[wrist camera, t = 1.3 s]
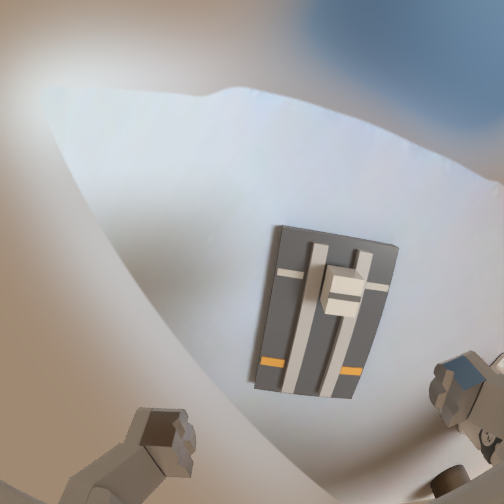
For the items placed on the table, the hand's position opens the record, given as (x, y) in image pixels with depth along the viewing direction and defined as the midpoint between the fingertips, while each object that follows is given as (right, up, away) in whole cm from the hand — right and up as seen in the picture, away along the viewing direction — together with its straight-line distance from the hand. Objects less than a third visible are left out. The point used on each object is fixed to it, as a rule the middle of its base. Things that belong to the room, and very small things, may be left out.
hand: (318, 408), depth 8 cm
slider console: (+7, -4, +28) cm, 29 cm away
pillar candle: (+46, -51, +34) cm, 77 cm away
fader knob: (+7, +1, +25) cm, 26 cm away
